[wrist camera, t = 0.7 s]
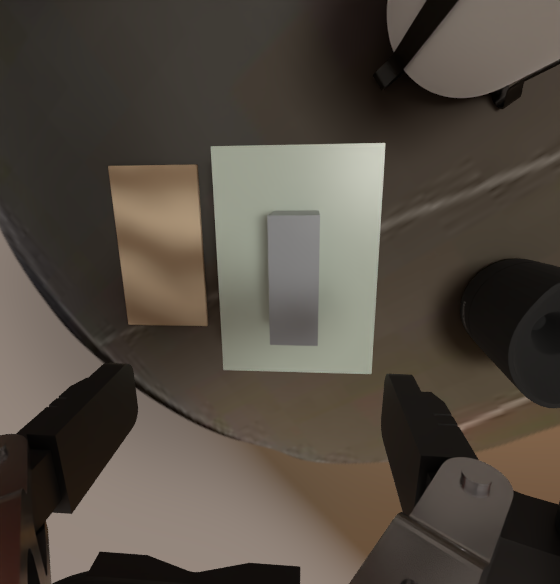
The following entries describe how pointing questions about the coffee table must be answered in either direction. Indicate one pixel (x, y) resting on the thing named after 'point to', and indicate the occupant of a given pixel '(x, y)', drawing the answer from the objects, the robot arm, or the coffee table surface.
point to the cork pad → (160, 243)
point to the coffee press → (471, 45)
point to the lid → (298, 255)
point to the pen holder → (518, 324)
